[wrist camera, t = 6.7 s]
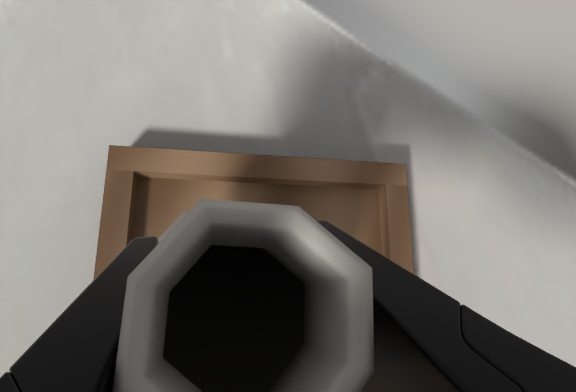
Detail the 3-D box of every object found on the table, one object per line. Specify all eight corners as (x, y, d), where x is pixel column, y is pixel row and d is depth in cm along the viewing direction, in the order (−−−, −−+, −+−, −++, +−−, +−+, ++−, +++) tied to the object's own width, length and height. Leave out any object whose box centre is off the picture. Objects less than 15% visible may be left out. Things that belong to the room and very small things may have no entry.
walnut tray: (390, 175, 24) (405, 164, 22) (409, 467, 20) (429, 484, 18) (118, 159, 21) (109, 145, 19) (81, 491, 18) (65, 514, 16)
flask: (171, 181, 15) (109, -24, 6) (349, 254, 16) (562, 176, 6) (73, 382, 13) (-290, 587, 4) (284, 458, 14) (457, 812, 4)
